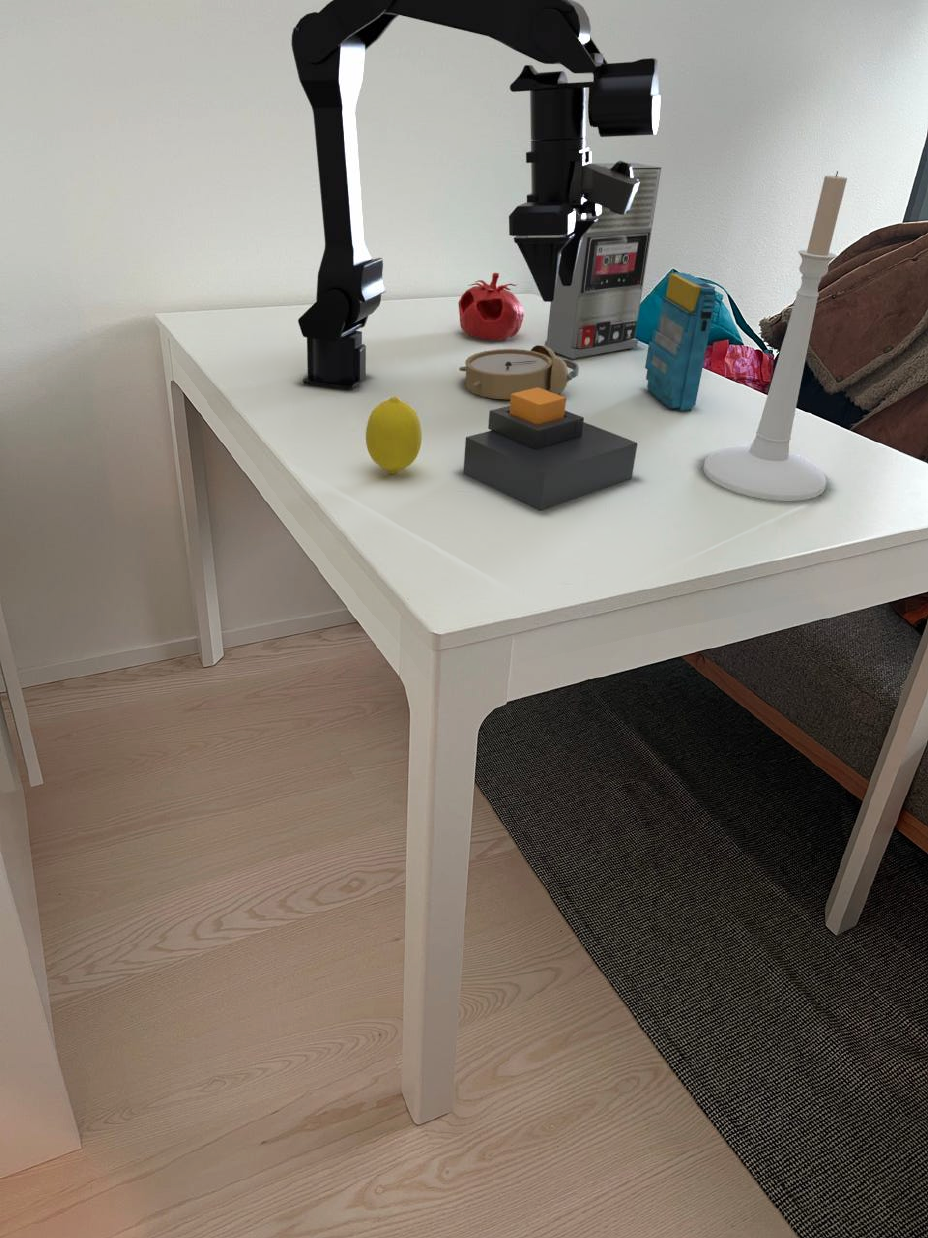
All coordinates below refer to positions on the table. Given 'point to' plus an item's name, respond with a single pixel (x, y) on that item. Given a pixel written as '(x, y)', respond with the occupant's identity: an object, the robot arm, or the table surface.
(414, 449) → the lemon
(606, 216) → the cassette tape recorder
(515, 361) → the alarm clock
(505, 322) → the pomegranate
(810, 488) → the candlestick
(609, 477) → the push button
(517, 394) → the key
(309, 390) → the table surface
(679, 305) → the handheld gaming console
